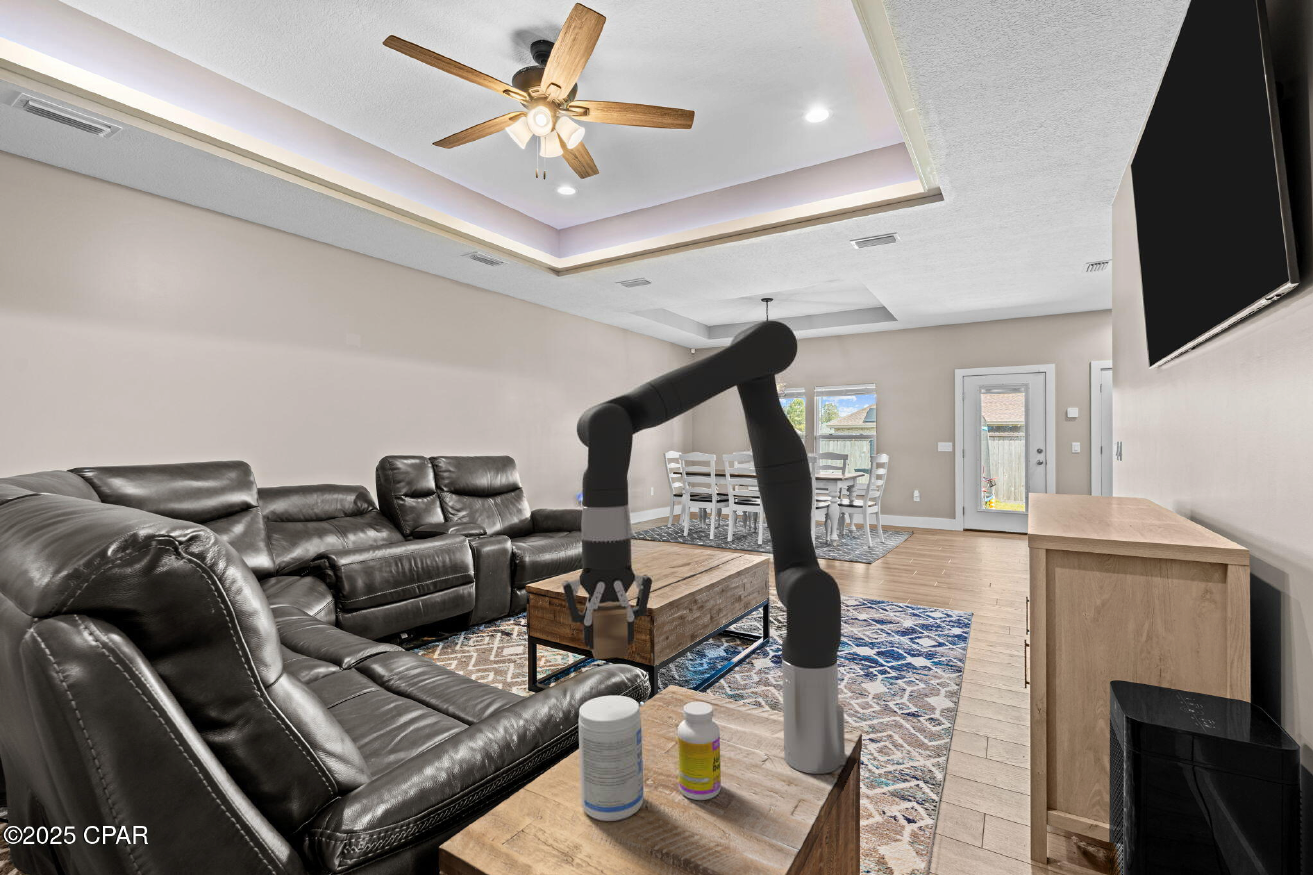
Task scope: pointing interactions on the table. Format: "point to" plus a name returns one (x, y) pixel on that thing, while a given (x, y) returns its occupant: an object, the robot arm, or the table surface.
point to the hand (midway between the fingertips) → (608, 645)
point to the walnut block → (610, 631)
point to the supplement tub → (610, 757)
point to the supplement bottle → (699, 752)
